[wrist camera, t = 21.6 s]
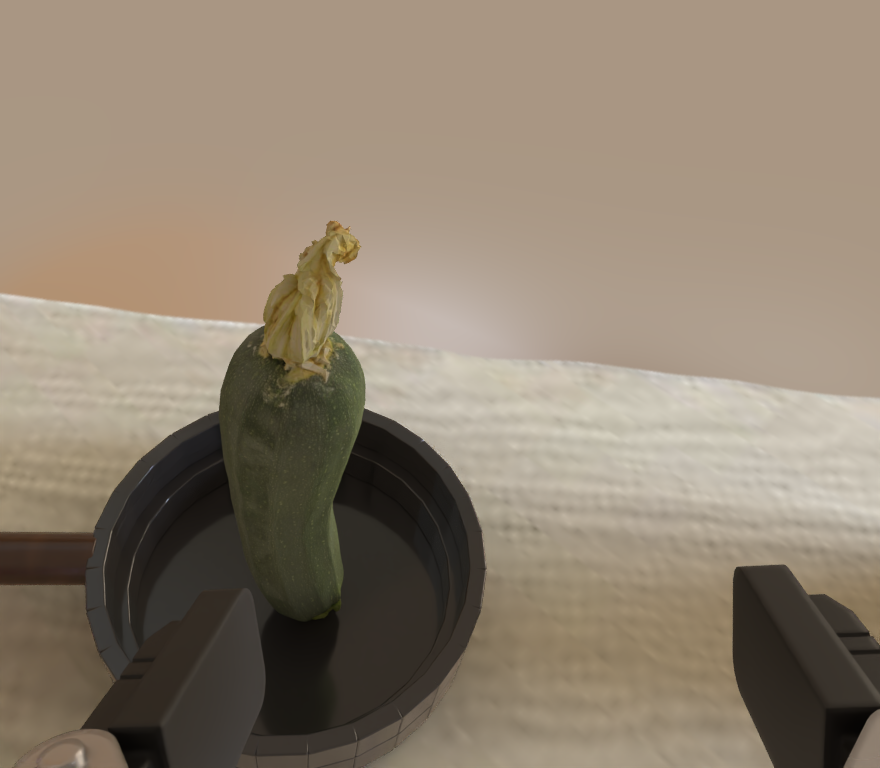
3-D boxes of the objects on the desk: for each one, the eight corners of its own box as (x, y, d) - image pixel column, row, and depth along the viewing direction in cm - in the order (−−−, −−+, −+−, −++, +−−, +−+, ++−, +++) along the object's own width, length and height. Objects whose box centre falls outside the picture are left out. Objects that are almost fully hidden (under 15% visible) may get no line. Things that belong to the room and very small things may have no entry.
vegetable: (250, 656, 33) (203, 307, 18) (237, 562, 35) (186, 186, 20) (357, 633, 34) (399, 287, 19) (337, 543, 36) (360, 175, 21)
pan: (454, 456, 41) (468, 402, 38) (484, 782, 31) (506, 748, 28) (142, 449, 39) (126, 391, 36) (69, 797, 29) (37, 762, 26)
